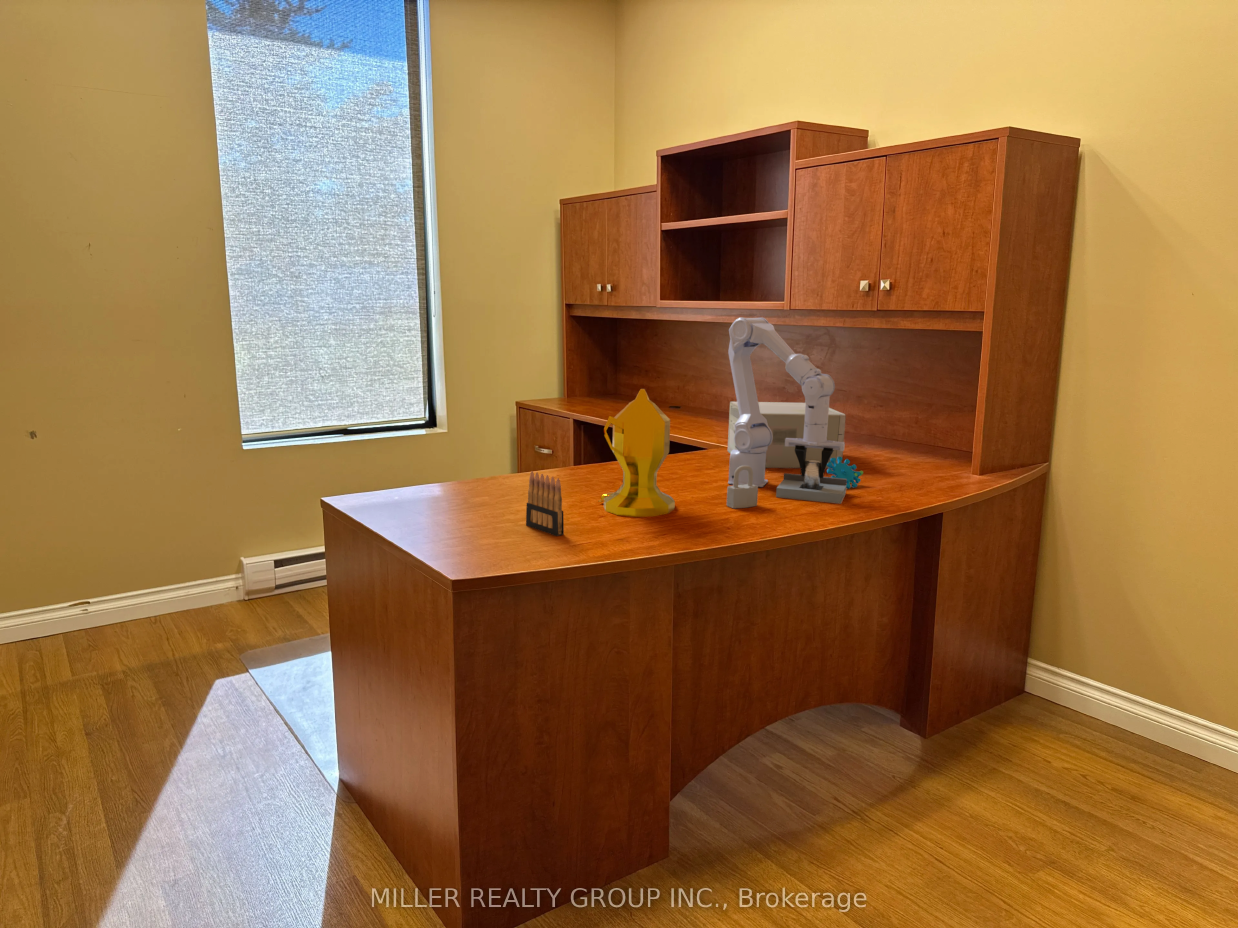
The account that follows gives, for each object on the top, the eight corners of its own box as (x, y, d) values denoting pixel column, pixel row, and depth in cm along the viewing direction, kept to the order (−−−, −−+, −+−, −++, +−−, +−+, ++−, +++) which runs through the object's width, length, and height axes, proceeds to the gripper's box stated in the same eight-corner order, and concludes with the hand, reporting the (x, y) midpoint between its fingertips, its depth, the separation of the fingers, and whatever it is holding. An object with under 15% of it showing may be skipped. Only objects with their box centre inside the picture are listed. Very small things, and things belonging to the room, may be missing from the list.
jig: (776, 497, 215) (776, 481, 214) (783, 487, 226) (784, 473, 225) (841, 503, 209) (842, 488, 209) (845, 493, 220) (846, 478, 220)
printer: (841, 469, 253) (846, 414, 250) (746, 468, 250) (749, 413, 247) (813, 452, 280) (817, 402, 276) (727, 451, 277) (729, 401, 274)
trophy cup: (575, 511, 196) (577, 389, 190) (634, 492, 216) (638, 382, 210) (638, 524, 186) (642, 396, 181) (694, 503, 206) (699, 388, 200)
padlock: (748, 503, 208) (751, 462, 206) (758, 506, 205) (761, 466, 203) (724, 505, 205) (726, 465, 203) (734, 509, 201) (736, 468, 199)
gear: (833, 484, 224) (825, 453, 229) (822, 496, 228) (814, 465, 234) (869, 488, 227) (860, 457, 233) (858, 499, 232) (849, 469, 237)
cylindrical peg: (801, 489, 215) (803, 462, 214) (805, 486, 218) (807, 459, 217) (817, 491, 213) (819, 463, 212) (820, 488, 217) (822, 461, 215)
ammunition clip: (525, 525, 183) (525, 470, 181) (532, 523, 184) (532, 469, 182) (557, 536, 175) (557, 479, 173) (563, 534, 177) (564, 478, 174)
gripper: (784, 423, 212) (780, 476, 214) (844, 427, 207) (840, 482, 210) (788, 419, 218) (785, 471, 221) (846, 423, 213) (842, 476, 216)
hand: (812, 476), depth 216 cm, fingers closed on cylindrical peg, 4 cm apart
